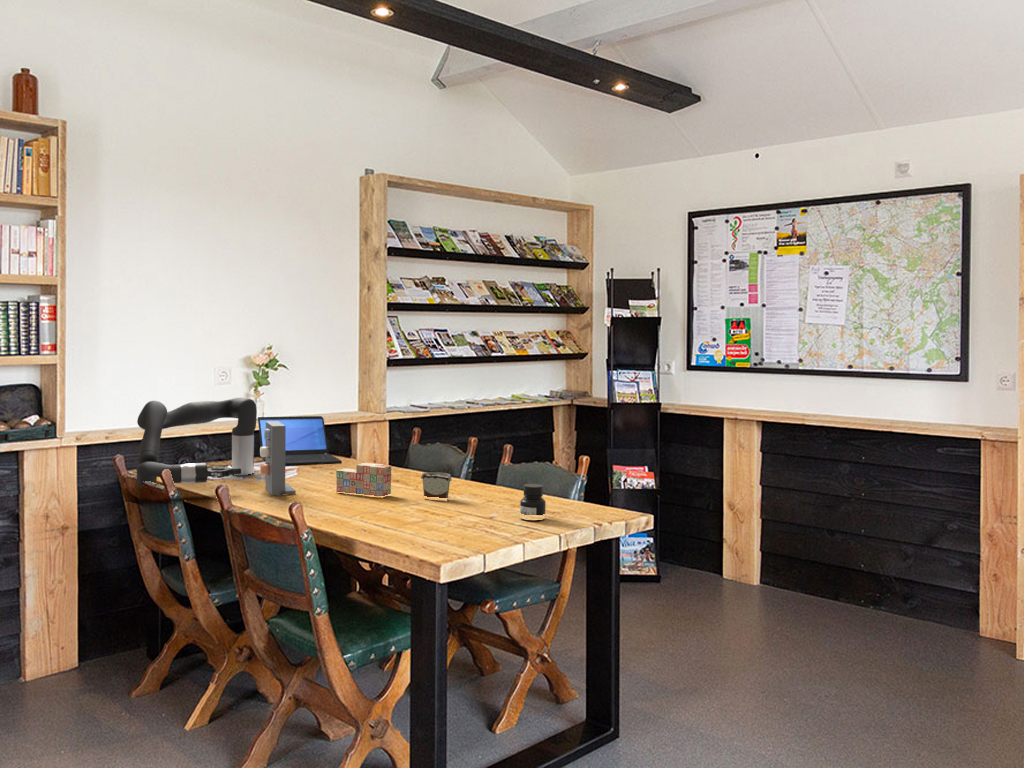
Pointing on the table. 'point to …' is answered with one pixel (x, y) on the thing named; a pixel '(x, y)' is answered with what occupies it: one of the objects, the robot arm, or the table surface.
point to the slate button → (266, 433)
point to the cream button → (265, 451)
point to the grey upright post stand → (277, 460)
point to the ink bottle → (533, 500)
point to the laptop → (302, 440)
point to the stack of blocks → (365, 479)
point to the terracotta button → (265, 469)
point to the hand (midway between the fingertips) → (240, 470)
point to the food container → (436, 484)
